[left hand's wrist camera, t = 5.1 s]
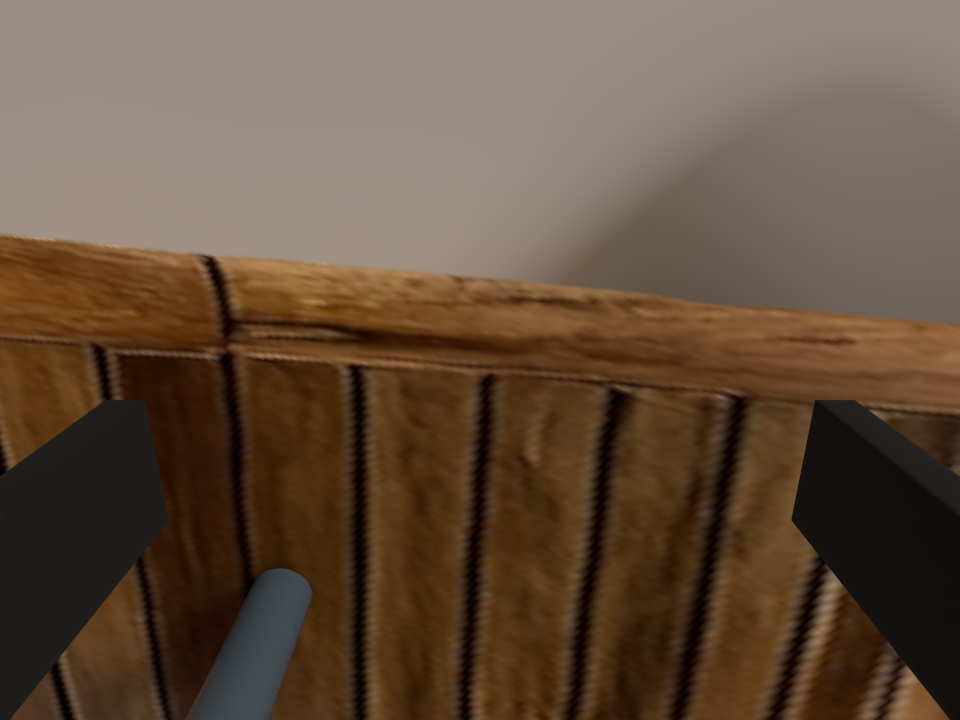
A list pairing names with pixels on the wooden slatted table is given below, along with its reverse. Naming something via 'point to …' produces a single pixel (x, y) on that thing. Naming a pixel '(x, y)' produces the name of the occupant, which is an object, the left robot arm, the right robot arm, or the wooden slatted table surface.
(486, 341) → the wooden slatted table surface
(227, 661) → the jar
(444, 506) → the wooden slatted table surface
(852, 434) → the left robot arm
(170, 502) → the wooden slatted table surface
